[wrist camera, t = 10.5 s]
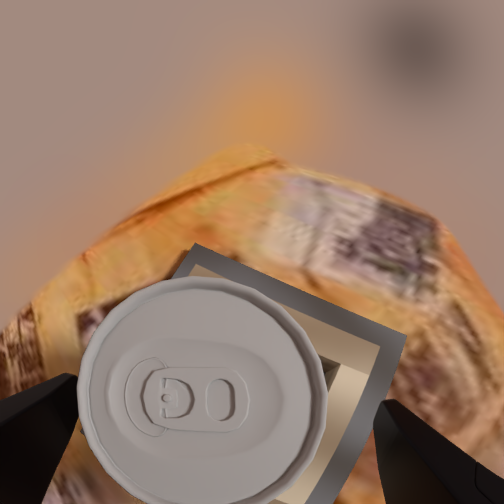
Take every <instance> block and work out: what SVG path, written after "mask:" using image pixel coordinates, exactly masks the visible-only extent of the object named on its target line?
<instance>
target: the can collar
mask: <svg viewBox="0 0 504 504" xmlns="http://www.w3.org/2000/svg"><path fill="white" fill-rule="evenodd" d="M189 276H199V277H211V278H223V279H227V280H230V281H233V282H236V283H239V284H242V285H245V286H248V287H251V288H254V289H256V290H257V291H259V292H260V293H262V294H263V295H265V296H267V297H268V298H270V299H271V300H273V301H274V302H276V303H278V304H279V305H281V306H282V307H283V308H284V309H285V310H286V311H287V312H288V313H289V314H290V315H291V316H292V318H293V319H294V320H295V321H296V322H297V323H298V324H299V325H300V326H301V327H302V328H303V329H304V330H305V332H306V334H307V336H308V338H309V339H310V341H311V343H312V345H313V347H314V349H315V351H316V353H317V354H318V356H319V358H320V360H321V364H322V368H323V373H324V377H325V382H326V386H327V391H328V402H327V416H326V428H325V430H324V433H323V436H322V439H321V441H320V444H319V446H318V449H317V451H316V454H315V456H314V459H313V460H312V462H311V463H310V464H309V466H308V467H307V468H306V470H305V471H304V472H303V473H302V475H301V476H300V477H299V478H298V480H297V481H296V482H295V483H294V484H293V486H292V487H290V488H289V489H288V490H286V491H285V492H283V493H282V494H281V495H279V496H278V497H276V498H275V499H273V500H272V501H270V502H269V503H267V504H332V503H333V502H334V500H335V499H336V497H337V495H338V494H339V492H340V490H341V489H342V487H343V485H344V483H345V482H346V480H347V478H348V476H349V474H350V473H351V471H352V469H353V467H354V465H355V463H356V461H357V459H358V457H359V455H360V453H361V452H362V449H363V447H364V445H365V443H366V441H367V439H368V437H369V435H370V433H371V431H372V428H373V420H374V417H375V415H376V412H377V409H378V407H379V404H380V402H381V401H382V400H385V398H386V395H387V393H388V390H389V387H390V385H391V382H392V379H393V377H394V374H395V371H396V368H397V365H398V362H399V359H400V356H401V353H402V350H403V347H404V344H405V341H406V337H407V335H404V334H402V333H400V332H397V331H395V330H393V329H390V328H388V327H385V326H383V325H381V324H378V323H376V322H374V321H371V320H369V319H367V318H364V317H362V316H360V315H357V314H355V313H353V312H350V311H348V310H346V309H343V308H341V307H339V306H336V305H334V304H332V303H329V302H327V301H325V300H322V299H320V298H318V297H316V296H313V295H311V294H309V293H306V292H304V291H302V290H300V289H297V288H295V287H293V286H290V285H288V284H286V283H284V282H281V281H279V280H277V279H275V278H272V277H270V276H268V275H266V274H263V273H261V272H259V271H257V270H254V269H252V268H250V267H248V266H245V265H243V264H241V263H239V262H236V261H234V260H232V259H230V258H227V257H225V256H223V255H221V254H219V253H216V252H214V251H212V250H210V249H208V248H205V247H203V246H201V245H199V244H197V243H195V244H194V245H193V247H192V248H191V250H190V251H189V253H188V254H187V256H186V257H185V259H184V260H183V262H182V263H181V265H180V266H179V268H178V269H177V271H176V272H175V274H174V275H173V277H172V278H171V279H177V278H183V277H189ZM80 432H81V433H82V434H83V435H84V436H85V433H84V431H83V428H82V429H81V431H80Z"/></svg>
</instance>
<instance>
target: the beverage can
mask: <svg viewBox="0 0 504 504" xmlns="http://www.w3.org/2000/svg"><path fill="white" fill-rule="evenodd" d="M77 399H78V411H79V418H80V421H81V425H82V428H83V431H84V433H85V436H86V439H87V442H88V445H89V447H90V448H91V450H92V452H93V453H94V455H95V456H96V458H97V459H98V461H99V462H100V464H101V465H102V467H103V468H104V470H105V471H106V472H107V474H109V475H110V476H111V477H112V478H113V479H114V480H115V481H116V482H117V483H118V484H119V485H120V486H121V487H123V488H124V489H125V490H126V491H127V492H128V493H129V494H131V495H132V496H134V497H136V498H138V499H139V500H141V501H143V502H145V503H147V504H267V503H269V502H270V501H272V500H273V499H275V498H276V497H278V496H279V495H281V494H282V493H283V492H285V491H286V490H288V489H289V488H290V487H292V486H293V484H294V483H295V482H296V481H297V480H298V478H299V477H300V476H301V475H302V473H303V472H304V471H305V470H306V468H307V467H308V466H309V464H310V463H311V462H312V460H313V459H314V456H315V454H316V451H317V449H318V446H319V444H320V441H321V439H322V436H323V433H324V430H325V428H326V416H327V402H328V391H327V386H326V382H325V377H324V373H323V368H322V364H321V360H320V358H319V356H318V354H317V353H316V351H315V349H314V347H313V345H312V343H311V341H310V339H309V338H308V336H307V334H306V332H305V330H304V329H303V328H302V327H301V326H300V325H299V324H298V323H297V322H296V321H295V320H294V319H293V318H292V316H291V315H290V314H289V313H288V312H287V311H286V310H285V309H284V308H283V307H282V306H281V305H279V304H278V303H276V302H274V301H273V300H271V299H270V298H268V297H267V296H265V295H263V294H262V293H260V292H259V291H257V290H256V289H254V288H251V287H248V286H245V285H242V284H239V283H236V282H233V281H230V280H227V279H223V278H211V277H199V276H189V277H183V278H177V279H171V280H164V281H161V282H158V283H156V284H154V285H151V286H149V287H146V288H144V289H142V290H139V291H137V292H135V293H134V294H132V295H131V296H130V297H128V298H127V299H125V300H124V301H123V302H122V303H120V304H119V305H118V306H116V307H115V308H114V309H112V310H111V312H110V313H109V314H108V315H107V316H106V318H105V319H104V320H103V321H102V323H101V324H100V325H99V326H98V327H97V329H96V330H95V331H94V333H93V335H92V337H91V339H90V341H89V344H88V346H87V348H86V350H85V352H84V355H83V357H82V360H81V365H80V371H79V376H78V382H77Z"/></svg>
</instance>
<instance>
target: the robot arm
mask: <svg viewBox="0 0 504 504" xmlns="http://www.w3.org/2000/svg"><path fill="white" fill-rule="evenodd" d="M77 382H78V377H77V376H76V375H73V374H70V373H63V374H61V375H59V376H57V377H54V378H52V379H50V380H47V381H45V382H43V383H40V384H38V385H36V386H33V387H31V388H29V389H26V390H24V391H22V392H19V393H17V394H15V395H12V396H10V397H7V398H5V399H2V400H0V504H41V503H42V501H43V498H44V496H45V494H46V491H47V489H48V487H49V484H50V482H51V480H52V477H53V475H54V473H55V471H56V468H57V466H58V464H59V462H60V460H61V458H62V455H63V453H64V451H65V449H66V447H67V445H68V443H69V441H70V438H71V436H72V433H73V431H74V428H75V425H76V422H77V419H78V417H79V411H78V399H77ZM373 430H374V438H375V446H376V454H377V463H378V470H379V475H380V479H381V484H382V488H383V492H384V497H385V501H386V504H504V479H503V478H501V477H499V476H497V475H496V474H495V473H493V472H492V471H490V470H489V469H487V468H486V467H484V466H483V465H482V464H480V463H479V462H476V460H475V459H473V458H472V457H471V456H469V455H468V454H467V453H465V452H464V451H463V450H461V449H460V448H458V447H457V446H456V445H454V444H453V443H452V442H450V441H449V440H448V439H447V438H445V437H444V436H443V435H441V434H440V433H439V432H437V431H436V430H435V429H433V428H432V427H431V426H429V425H428V424H427V423H426V422H424V421H423V420H422V419H420V418H419V417H418V416H416V415H415V414H414V413H413V412H411V411H410V410H409V409H407V408H406V407H405V406H404V405H402V404H401V403H400V402H398V401H397V400H396V399H388V400H382V401H381V402H380V404H379V407H378V409H377V412H376V415H375V417H374V420H373Z"/></svg>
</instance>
